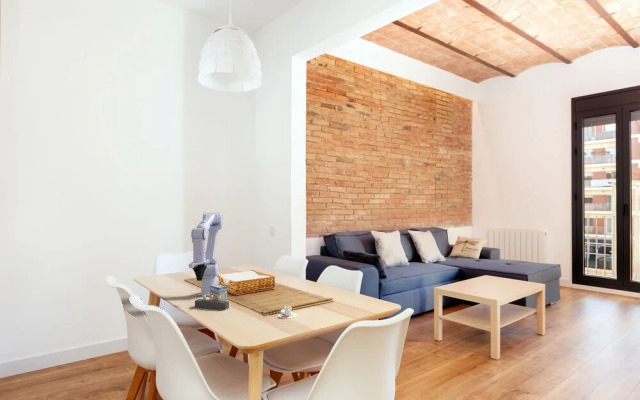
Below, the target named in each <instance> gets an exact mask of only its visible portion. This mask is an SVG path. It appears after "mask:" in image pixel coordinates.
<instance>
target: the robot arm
mask: <svg viewBox="0 0 640 400" xmlns="http://www.w3.org/2000/svg"><path fill="white" fill-rule="evenodd" d="M223 220H224V217H223V213H222V212H203V214H202V220H201V221H200V222H199V223H198V225H197V226H196V227H194V228H192V229H191V233H190V236H191V243H192V246H193V247H192V248H193V249H192V250H193V251H192V256H193V257H192V259H193V261H192V262H190V263H188V269H191V270H192V271H193V273H194V274H195V279H196V281H197V282H198V281H199V282H200V292H199V293H198V294H197V296H202V297H203V295H205V296H206V297H210V286H211V285H215V284H217V285H220V280H219V278H218V276H219V273H220V272H219V271H220V270H219V269H220V268H219V266H220V265H219V262H218V260H216V259H215V255H216V249H217V248H216V247H217V243H218V242H217V241H218V234H219V231H220V230H221V229H222V227H223V222H224V221H223ZM206 240H207V242H206Z"/></svg>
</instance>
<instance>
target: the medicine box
mask: <svg viewBox="0 0 640 400" xmlns="http://www.w3.org/2000/svg"><path fill="white" fill-rule="evenodd" d="M211 295H213V300H218V296H221V301H228V287H227V286H226V285H221V284H219V285H217V284H215V285H211V286H210V296H211ZM210 296H209V297H210Z"/></svg>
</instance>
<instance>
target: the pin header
mask: <svg viewBox="0 0 640 400" xmlns="http://www.w3.org/2000/svg"><path fill="white" fill-rule="evenodd" d="M206 297H207V296H205V295H203V296H202V298H197V299H195V300H194V307H195V308H199V309H200V308H202V309H210V310H211V309H212V310H225V311H226V310H228V309H230V301H229V300H227V301H221V296H218V300H213V295H211V296H209V299H206Z"/></svg>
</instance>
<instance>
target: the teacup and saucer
mask: <svg viewBox="0 0 640 400" xmlns="http://www.w3.org/2000/svg"><path fill="white" fill-rule="evenodd" d="M292 308H293V307H292V306H291V305H285V306H284V307H283V309H281V310H280V313H279V314H278V315H277V316H278V317H279V318H281V319H285V320H286V319H293V318H296V317H297V316H298V314H297V313H295V312H292ZM282 315H284V317H283V316H282ZM291 315H293V316H291ZM285 316H286V317H285Z"/></svg>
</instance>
